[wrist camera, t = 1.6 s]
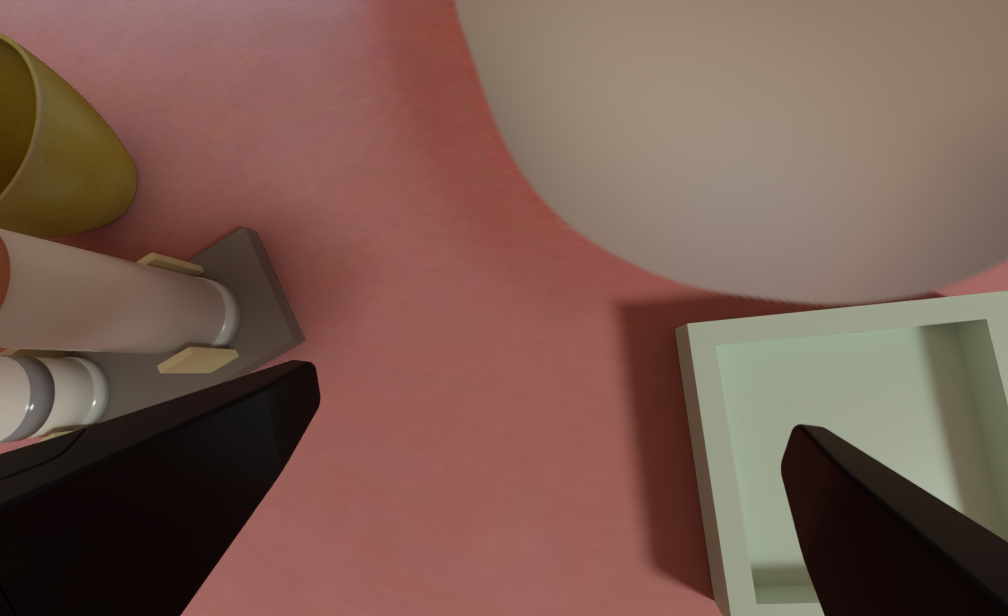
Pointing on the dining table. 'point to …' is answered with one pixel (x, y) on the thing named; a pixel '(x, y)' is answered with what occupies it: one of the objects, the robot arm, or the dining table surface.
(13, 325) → the fuse marked
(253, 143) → the dining table surface
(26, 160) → the yellow bowl
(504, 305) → the dining table surface
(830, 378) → the tray
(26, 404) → the cylinder
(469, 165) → the dining table surface
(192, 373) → the fuse block
